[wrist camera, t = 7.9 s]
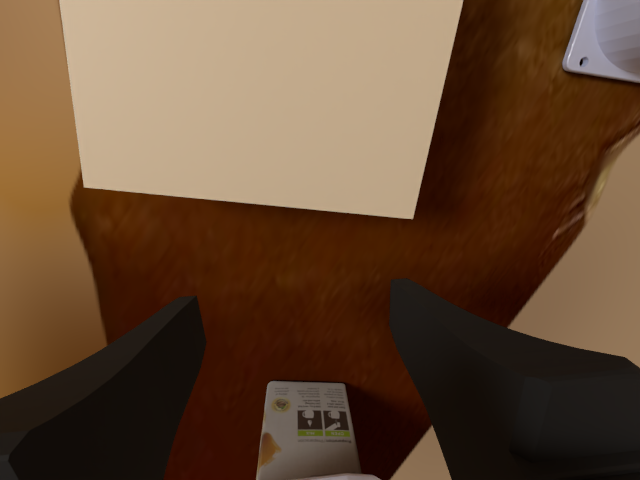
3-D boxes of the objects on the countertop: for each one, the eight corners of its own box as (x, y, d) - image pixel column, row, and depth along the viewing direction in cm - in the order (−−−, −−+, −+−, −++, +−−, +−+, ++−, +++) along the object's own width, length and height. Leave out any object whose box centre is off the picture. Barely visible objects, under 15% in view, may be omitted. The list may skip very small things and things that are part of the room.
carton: (424, -45, 16) (493, -128, 11) (379, 190, 20) (412, 219, 15) (128, -103, 15) (27, -238, 9) (145, 165, 19) (84, 187, 13)
